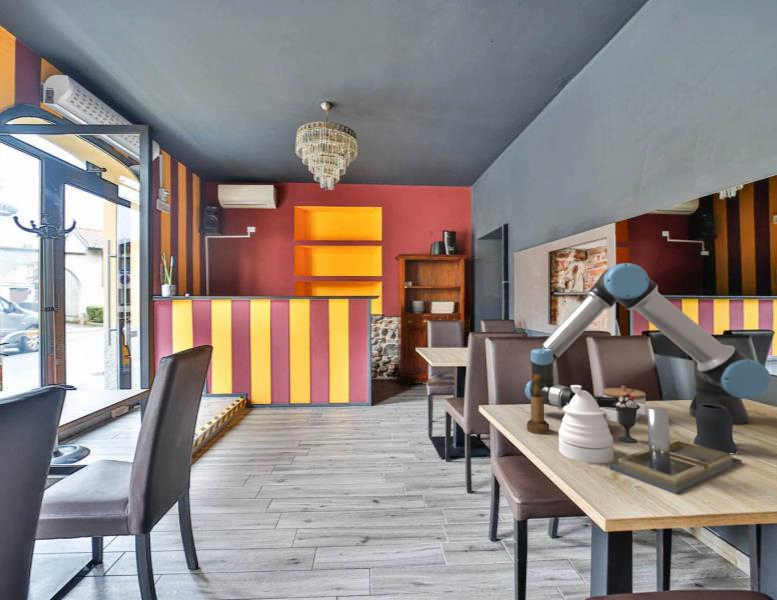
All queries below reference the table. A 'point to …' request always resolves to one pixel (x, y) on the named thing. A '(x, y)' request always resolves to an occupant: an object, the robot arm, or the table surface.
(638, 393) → the lidded bowl
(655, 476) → the olive compartment tray
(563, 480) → the table surface
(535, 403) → the brown pedestal figurine
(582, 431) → the honey pot
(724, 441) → the mug
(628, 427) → the sundae
